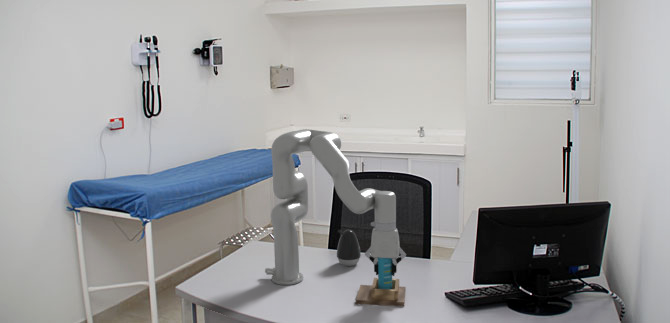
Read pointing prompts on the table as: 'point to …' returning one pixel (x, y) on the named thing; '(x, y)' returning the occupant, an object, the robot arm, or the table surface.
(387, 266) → the tube
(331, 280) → the table surface
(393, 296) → the tube stand
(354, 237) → the dark grey egg-shaped piece
